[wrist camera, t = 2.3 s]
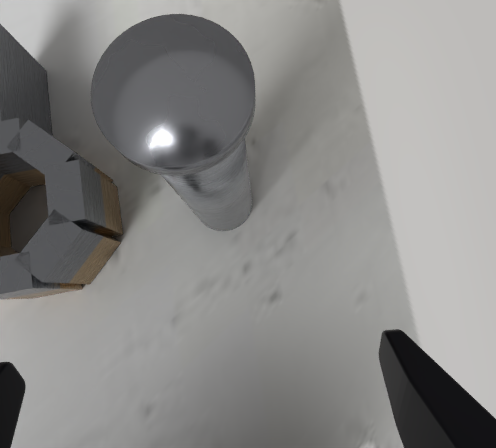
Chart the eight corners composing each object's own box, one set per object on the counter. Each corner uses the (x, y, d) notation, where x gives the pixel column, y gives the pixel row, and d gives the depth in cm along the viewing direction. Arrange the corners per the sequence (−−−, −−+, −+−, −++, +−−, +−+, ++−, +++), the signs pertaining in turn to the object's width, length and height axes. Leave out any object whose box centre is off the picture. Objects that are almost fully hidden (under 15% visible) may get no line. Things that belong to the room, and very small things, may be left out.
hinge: (181, 160, 24) (160, 126, 19) (23, 374, 22) (-47, 398, 17) (36, 64, 25) (-19, 9, 21) (-123, 256, 24) (-225, 246, 19)
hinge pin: (274, 192, 23) (287, 65, 10) (232, 252, 23) (190, 199, 10) (214, 154, 24) (156, -13, 11) (173, 211, 23) (58, 109, 10)
